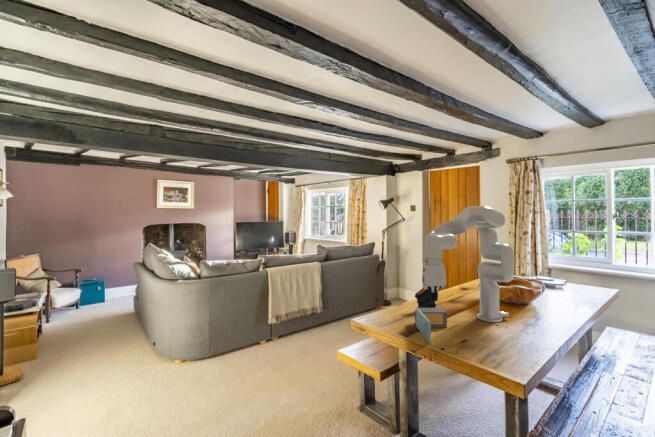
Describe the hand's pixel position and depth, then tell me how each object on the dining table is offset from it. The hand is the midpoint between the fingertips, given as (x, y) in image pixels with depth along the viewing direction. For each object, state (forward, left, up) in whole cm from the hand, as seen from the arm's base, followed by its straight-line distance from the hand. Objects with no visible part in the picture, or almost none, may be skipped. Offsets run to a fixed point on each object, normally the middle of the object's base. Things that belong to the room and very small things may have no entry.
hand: (434, 300), depth 142 cm
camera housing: (-3, -19, -19) cm, 27 cm away
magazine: (-5, -42, -19) cm, 46 cm away
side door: (+4, -6, -19) cm, 20 cm away
